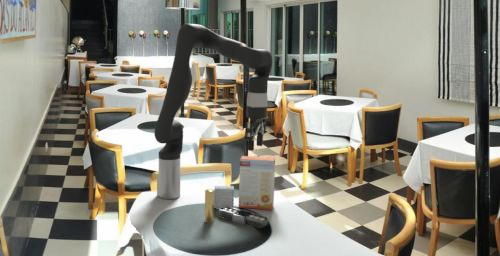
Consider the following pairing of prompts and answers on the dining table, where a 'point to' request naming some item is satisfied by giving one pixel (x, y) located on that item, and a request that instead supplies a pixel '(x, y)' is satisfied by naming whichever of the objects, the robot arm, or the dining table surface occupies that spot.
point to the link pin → (209, 205)
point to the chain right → (256, 220)
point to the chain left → (229, 212)
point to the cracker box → (256, 182)
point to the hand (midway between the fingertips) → (255, 148)
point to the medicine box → (224, 196)
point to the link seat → (241, 217)
